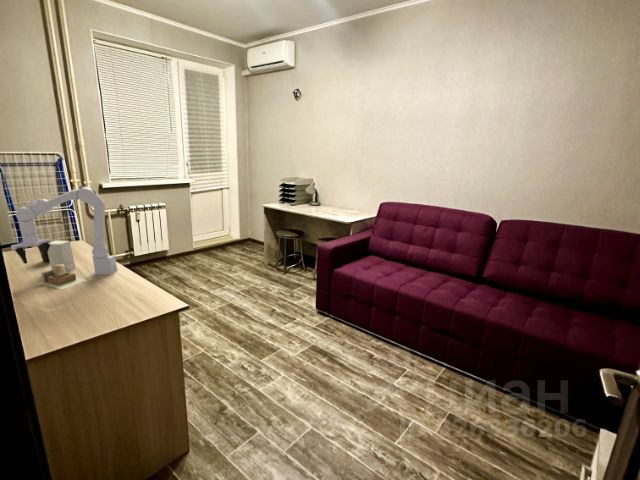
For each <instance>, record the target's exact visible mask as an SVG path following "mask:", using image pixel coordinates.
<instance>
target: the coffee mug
mask: <svg viewBox="0 0 640 480" xmlns="http://www.w3.org/2000/svg"><path fill="white" fill-rule="evenodd" d="M53 241H54V240H51V242H53ZM36 246H37V249H38V250H39V251H38V252H39V254H40V256H41V260H42V262H43V263H50V260H49V256H48V253H47V259H43V257H42V251H41V248H40V245H36Z"/></svg>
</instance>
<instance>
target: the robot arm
mask: <svg viewBox="0 0 640 480" xmlns="http://www.w3.org/2000/svg"><path fill="white" fill-rule="evenodd" d="M78 200H80V201H81V202H84V203H86V204H88V205H90V206H91V207H92V208H93V219H94V220H93V222H94V223H93V225H94V227H93V230H94V232H93V233H94V244H93V245H92V250H91V253H92V262H93V268H94V272H93V273H91V275H93V276H94V275H112V274H113V273H114V272H117V271H118V266H117V265H118V264H117V260H116V257H115V256H114V255H110V253H108V245H107V243H106V204H105V202H104V200H103V199H102V198H101V196H100V195H99V194H98V192H97V190H95V189H94V188H92V187H91V186H82V187H80V188H79V187H78V188H75V189H72V190H69V191H67V192H65V193H62V194H60V195H58V196H55V197H53V198H51V199H45V198H43V199H41V198H39V199H37V200H36V201H35V202H33V203H30V204H27V203H26V205H25V206H21V207H20V208H19V209H18V210H16V212H15V217H16V218H17V219H18V224H19V225H18V226H19V230H20V234H21V238H22V239H21V240H22V242H20V243H16V244H12V245H10V247H11V250H12V251H14V252H15V253H16V254H17V255H18V257H19V258H21V260H22V263H23V264H25V265H26V264H28V259H27V256H26V255H27V254H26V253H27V252H26V250H25V248H30V247H31V248H32V247H34V246H35V247H36V246H37V245H40V248H41V251H42V257H43V259H47V253H48V249H49V247H50V244H49V243H51V241H52V240H51V238H43V239H40V238H39V234H38V228H37V223H36V221H35V217H38V216H41V215H44V214H46V213H49V212H51V211H53V208H54V207H55V206H58V205H59V204H63V203H66V202H68V201H78ZM42 257H41V258H42ZM43 259H42V260H43Z"/></svg>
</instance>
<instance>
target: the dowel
mask: <svg viewBox="0 0 640 480" xmlns="http://www.w3.org/2000/svg"><path fill="white" fill-rule="evenodd" d="M54 271H55V276H56V277H57V278H60V277H63V276H66V272H65V267H64V264H58V265H54Z"/></svg>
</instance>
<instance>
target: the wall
mask: <svg viewBox="0 0 640 480" xmlns="http://www.w3.org/2000/svg"><path fill="white" fill-rule="evenodd" d="M64 267H65V266H64ZM65 271H66V272H67V270H66V267H65ZM53 274H55V271H54V269H53V270H52V269H50V270H46V271H43V272H41V277H42V279H41V280H42V283H48V282H47V276H50V275H53Z"/></svg>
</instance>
